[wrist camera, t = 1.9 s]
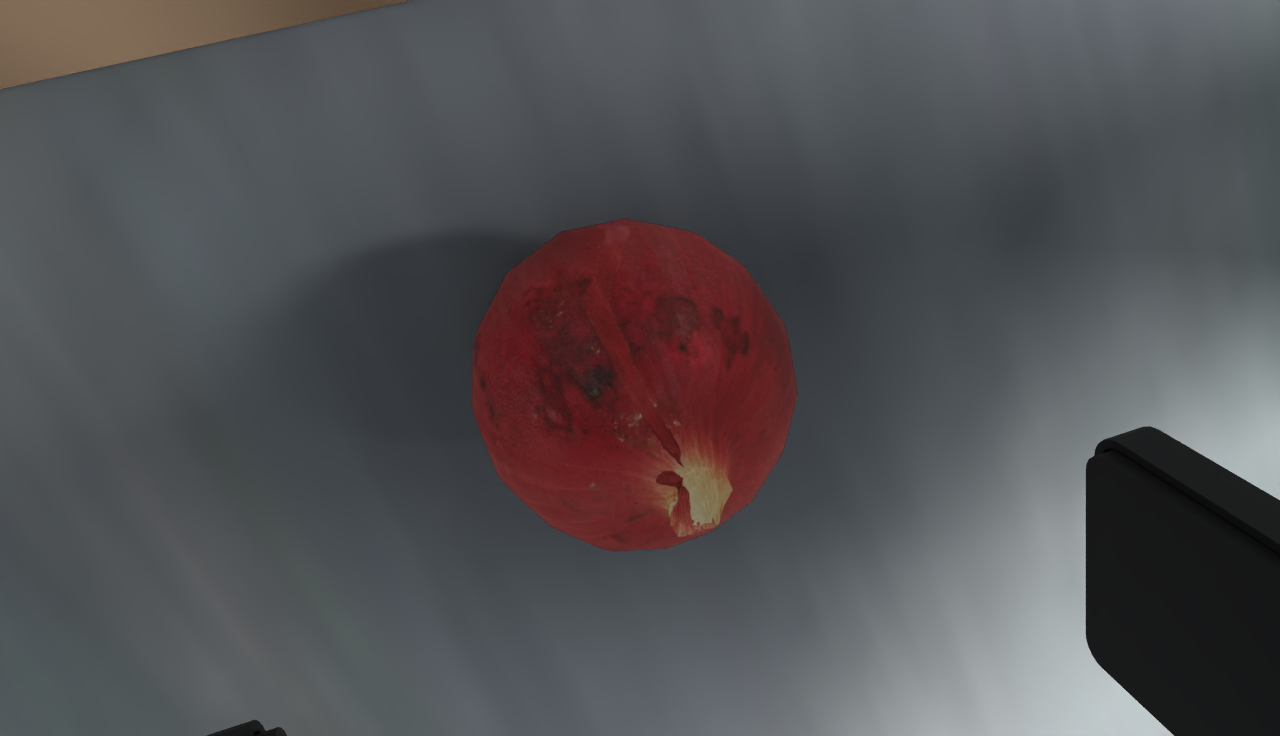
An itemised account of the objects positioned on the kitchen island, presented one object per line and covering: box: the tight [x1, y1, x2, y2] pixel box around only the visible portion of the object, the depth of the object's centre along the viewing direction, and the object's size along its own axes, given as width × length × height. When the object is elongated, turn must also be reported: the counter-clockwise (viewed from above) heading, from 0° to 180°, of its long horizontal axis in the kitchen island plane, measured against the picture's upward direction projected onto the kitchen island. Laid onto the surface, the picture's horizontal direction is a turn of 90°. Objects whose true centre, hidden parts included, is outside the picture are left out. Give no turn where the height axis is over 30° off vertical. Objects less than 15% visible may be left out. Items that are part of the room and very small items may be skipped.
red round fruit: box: [471, 219, 798, 551], centre depth 18 cm, size 6×6×8 cm
